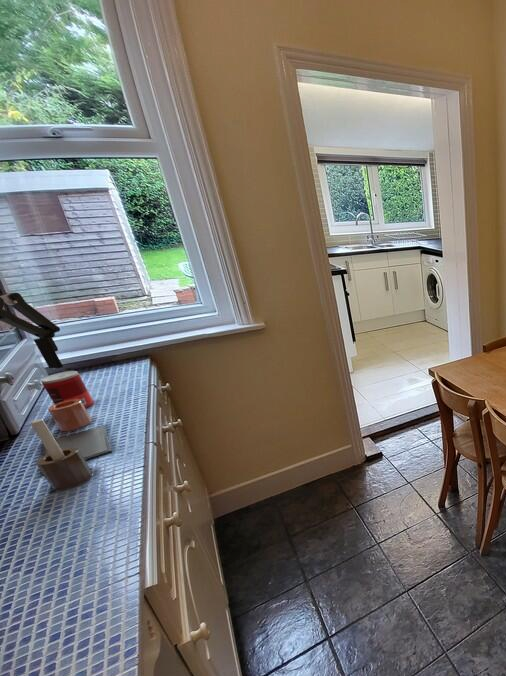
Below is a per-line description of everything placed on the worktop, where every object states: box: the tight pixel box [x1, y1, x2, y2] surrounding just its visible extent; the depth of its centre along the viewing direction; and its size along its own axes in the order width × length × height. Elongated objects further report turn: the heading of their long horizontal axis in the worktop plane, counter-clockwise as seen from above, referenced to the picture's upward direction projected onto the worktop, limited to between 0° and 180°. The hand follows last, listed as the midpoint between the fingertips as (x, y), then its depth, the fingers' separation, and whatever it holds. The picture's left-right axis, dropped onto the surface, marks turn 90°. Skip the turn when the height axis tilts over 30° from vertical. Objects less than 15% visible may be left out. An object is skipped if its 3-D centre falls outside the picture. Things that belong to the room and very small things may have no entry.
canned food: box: [40, 370, 94, 409], centre depth 123 cm, size 8×8×11 cm
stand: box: [35, 447, 94, 491], centre depth 89 cm, size 6×6×7 cm
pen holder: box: [47, 399, 93, 432], centre depth 113 cm, size 6×6×7 cm
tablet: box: [40, 424, 113, 477], centre depth 103 cm, size 20×12×1 cm, turn 47°
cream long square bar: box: [29, 418, 65, 460], centre depth 87 cm, size 2×2×15 cm
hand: (18, 380), depth 83 cm, fingers open, 13 cm apart
